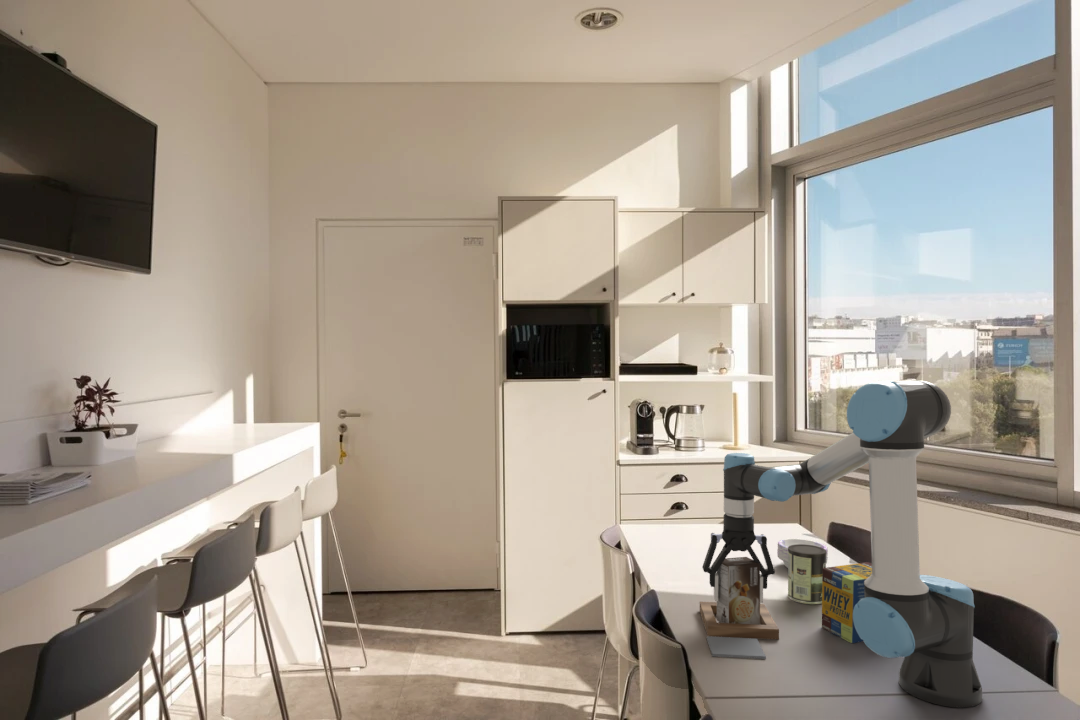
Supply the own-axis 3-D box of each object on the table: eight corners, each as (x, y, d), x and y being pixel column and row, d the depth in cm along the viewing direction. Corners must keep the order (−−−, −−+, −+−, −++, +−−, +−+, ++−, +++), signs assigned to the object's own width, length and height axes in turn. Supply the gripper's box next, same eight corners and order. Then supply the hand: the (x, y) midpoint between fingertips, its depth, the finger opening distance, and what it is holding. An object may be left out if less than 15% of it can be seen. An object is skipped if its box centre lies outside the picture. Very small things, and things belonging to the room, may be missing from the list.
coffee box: (746, 616, 187) (747, 555, 187) (760, 625, 181) (761, 563, 181) (715, 620, 185) (716, 558, 185) (728, 629, 179) (729, 565, 179)
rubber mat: (765, 659, 163) (765, 656, 163) (712, 656, 164) (712, 653, 164) (757, 641, 173) (757, 638, 173) (706, 638, 174) (706, 636, 174)
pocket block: (778, 639, 174) (779, 629, 174) (707, 636, 176) (708, 626, 176) (764, 613, 191) (764, 604, 191) (699, 610, 193) (699, 601, 193)
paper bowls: (838, 572, 226) (838, 548, 226) (800, 578, 220) (800, 552, 220) (803, 559, 240) (804, 535, 240) (767, 564, 234) (767, 540, 234)
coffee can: (822, 593, 207) (822, 545, 207) (829, 606, 197) (829, 555, 197) (784, 590, 209) (785, 542, 209) (789, 603, 199) (790, 552, 199)
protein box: (820, 628, 181) (821, 567, 181) (867, 620, 187) (868, 561, 187) (851, 644, 172) (852, 580, 171) (900, 635, 177) (901, 573, 177)
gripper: (781, 512, 185) (780, 596, 186) (691, 509, 188) (690, 593, 188) (788, 518, 178) (787, 607, 178) (694, 516, 180) (694, 603, 180)
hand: (738, 600), depth 183 cm, fingers closed on coffee box, 10 cm apart
